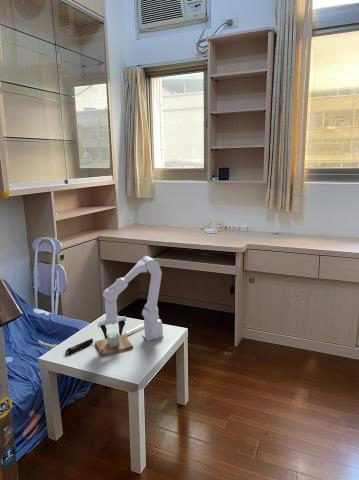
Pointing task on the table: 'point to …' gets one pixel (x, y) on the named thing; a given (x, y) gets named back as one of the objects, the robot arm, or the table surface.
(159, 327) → the robot arm
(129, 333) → the marker
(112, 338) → the mint green cube
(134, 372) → the table surface
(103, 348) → the stub board
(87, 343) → the electric trimmer
